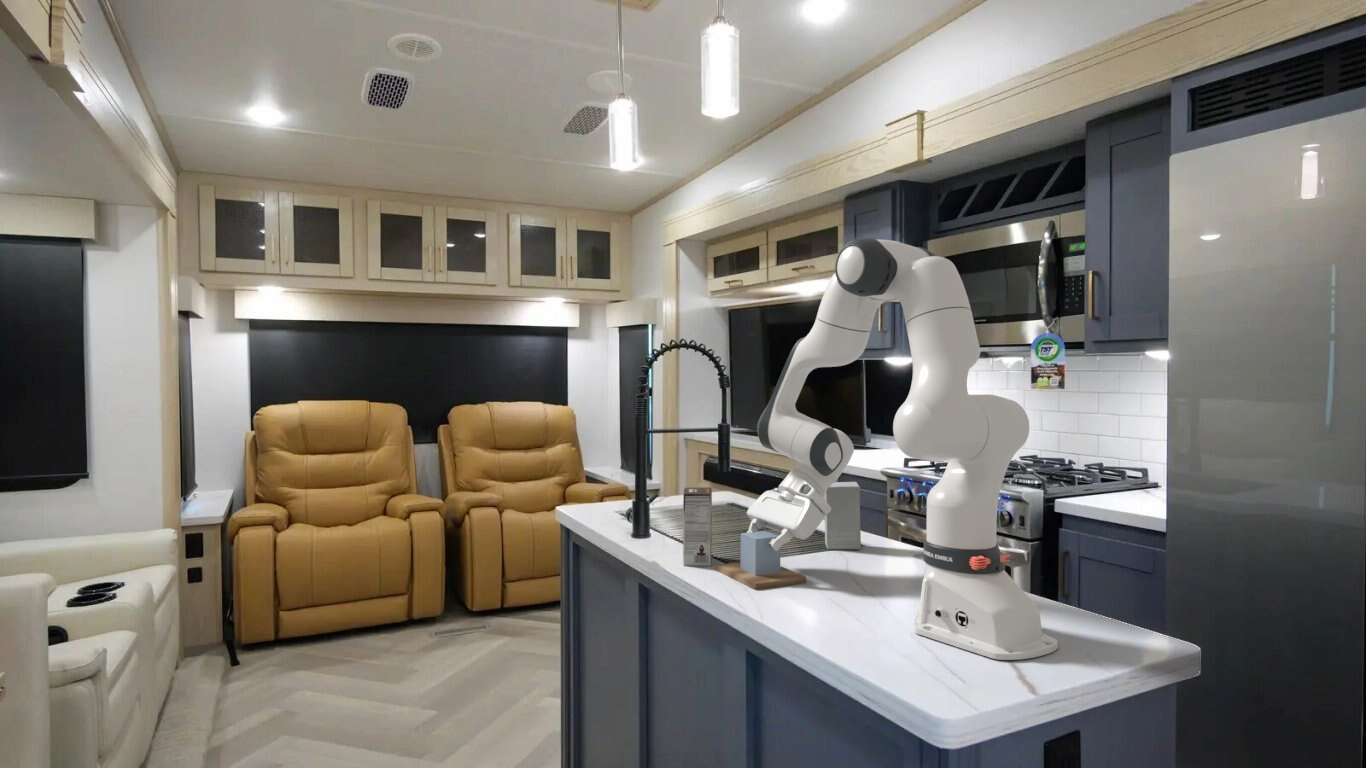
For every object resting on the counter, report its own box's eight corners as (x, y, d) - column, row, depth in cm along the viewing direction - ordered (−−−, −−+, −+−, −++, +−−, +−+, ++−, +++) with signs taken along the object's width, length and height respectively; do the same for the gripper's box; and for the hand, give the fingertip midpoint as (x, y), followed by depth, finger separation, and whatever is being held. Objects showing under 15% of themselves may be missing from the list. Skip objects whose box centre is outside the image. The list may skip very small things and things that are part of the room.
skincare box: (857, 544, 188) (858, 481, 188) (861, 551, 181) (861, 485, 180) (822, 543, 189) (823, 480, 188) (825, 550, 181) (825, 484, 181)
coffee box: (683, 556, 175) (683, 486, 175) (711, 556, 175) (711, 487, 175) (682, 566, 166) (683, 493, 166) (711, 566, 166) (712, 493, 166)
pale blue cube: (780, 572, 157) (780, 536, 156) (755, 575, 154) (755, 539, 154) (764, 565, 162) (764, 530, 162) (740, 568, 159) (740, 533, 159)
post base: (806, 582, 153) (806, 549, 153) (755, 589, 148) (755, 555, 148) (764, 564, 168) (764, 534, 168) (716, 570, 163) (716, 539, 162)
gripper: (764, 477, 170) (726, 524, 166) (818, 490, 152) (777, 543, 148) (780, 496, 172) (743, 543, 168) (836, 511, 154) (796, 564, 150)
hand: (759, 543), depth 158 cm, fingers open, 8 cm apart
